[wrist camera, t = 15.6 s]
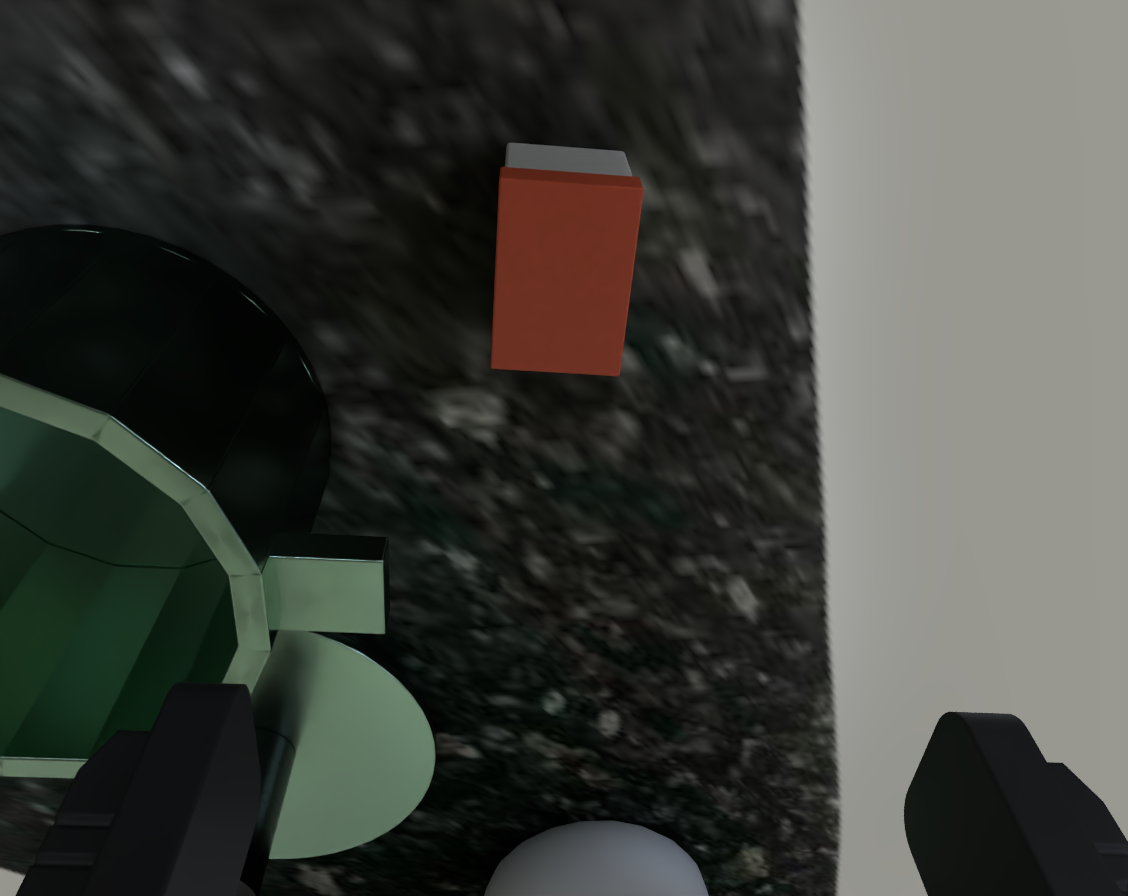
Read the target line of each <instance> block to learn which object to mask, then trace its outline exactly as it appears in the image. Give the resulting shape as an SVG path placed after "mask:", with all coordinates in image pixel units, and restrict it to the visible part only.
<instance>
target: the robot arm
mask: <svg viewBox="0 0 1128 896" xmlns="http://www.w3.org/2000/svg"><path fill="white" fill-rule="evenodd" d="M260 789H261V772H260V764H259V756H258V749H257V742H256V734H255V727H254V720H253V712H252V705H251V698H250V692H249V689H248V687H247V685H245V684H229V683H202V682H176V683H175V684H174V685H173V686H172V687H171V688H170V690H169V692H168V694H167V696H166V698H165V700H164V702H163V705H162V707H161V709H160V711H159V714H158V716H157V718H156V721H155V723H154V725H153V727H152V730H151V731H135V730H118V731H117V732H116V733H115V734H114V735H113V736H112V737H111V738H110V739H109V740H108V741H107V742H106V743H105V744H104V745H103V746H102V747H101V748H100V749H99V750H98V751H97V752H96V753H95V754H94V755H93V756H92V757H91V758H90V759H89V760H88V761H87V762H86V763H84V764H83V765H82V766H81V767H80V768H79V769H78V771H77V773H76V775H75V777H74V779H73V781H72V783H71V785H70V787H69V789H68V791H67V794H66V796H65V798H64V800H63V802H62V804H61V806H60V808H59V810H58V812H57V814H56V816H55V823H54V825H53V826H50V828H49V830H48V832H47V834H46V836H45V838H44V840H43V842H42V844H41V846H40V848H39V850H38V852H37V854H36V860H35V863H34V865H33V866H30V868H29V870H28V872H27V874H26V876H25V878H24V880H23V882H22V884H21V886H20V888H19V890H18V892H17V894H16V896H235V895H236V891H237V888H238V884H239V881H240V877H241V874H242V870H243V867H244V863H245V860H246V856H247V853H248V849H249V846H250V842H251V839H252V835H253V832H254V828H255V824H256V819H257V814H258V808H259V800H260ZM904 823H905V831H906V837H907V841H908V844H909V847H910V850H911V853H912V856H913V858H914V861H915V863H916V866H917V869H918V871H919V874H920V876H921V879H922V881H923V884H924V887H925V889H926V892H927V894H928V896H1128V841H1127V840H1126V838H1125V836H1124V835H1123V833H1122V832H1121V830H1120V828H1119V827H1118V825H1117V823H1116V822H1115V820H1114V818H1113V817H1112V815H1111V814H1110V812H1109V810H1108V809H1107V807H1106V805H1105V804H1104V802H1103V801H1102V800H1101V799H1100V798H1099V797H1098V796H1097V795H1096V794H1094V792H1092V791H1091V790H1090V789H1089V788H1088V787H1087V786H1086V785H1085V784H1084V783H1083V782H1082V781H1081V780H1080V779H1079V778H1078V777H1077V776H1076V775H1075V774H1074V773H1073V772H1071V771H1070V770H1069V769H1068V768H1067V767H1066V766H1065V765H1064V764H1063V763H1049V762H1046V760H1045V758H1044V757H1043V755H1042V753H1041V751H1040V750H1039V748H1038V746H1037V744H1036V743H1035V741H1034V739H1033V738H1032V736H1031V734H1030V732H1029V731H1028V729H1027V727H1026V726H1025V724H1024V723H1023V722H1022V721H1021V720H1020V719H1019V718H1017V717H1016V716H1014V715H1012V714H996V713H968V712H947V713H945V714H944V715H942V717H941V718H940V719H939V721H938V723H937V725H936V727H935V730H934V732H933V734H932V737H931V739H930V741H929V743H928V746H927V748H926V750H925V753H924V755H923V757H922V759H921V762H920V764H919V766H918V768H917V771H916V773H915V775H914V778H913V780H912V782H911V785H910V787H909V789H908V792H907V794H906V799H905V806H904Z"/></svg>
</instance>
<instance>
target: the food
mask: <svg viewBox="0 0 1128 896" xmlns="http://www.w3.org/2000/svg"><path fill="white" fill-rule="evenodd" d="M643 191H644V190H643V186H642V184H641V181H640V178H639V177H634V176H632V174H631V171H630V168H629V165H628V162H627V159H626V156H625V153H624V152H623V151H613V150H600V149H587V148H574V147H561V146H548V145H535V144H522V143H508V144H507V146H506V158H505V167H501V168H500V176H499V194H498V216H497V237H496V259H495V281H494V303H493V325H492V347H491V368H492V369H508V370H524V371H541V372H558V373H575V374H591V375H608V376H619V375H620V369H621V361H622V353H623V345H624V338H625V330H626V322H627V314H628V307H629V299H630V291H631V284H632V276H633V268H634V260H635V253H636V245H637V237H638V230H639V222H640V214H641V206H642V199H643Z"/></svg>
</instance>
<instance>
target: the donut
mask: <svg viewBox="0 0 1128 896" xmlns="http://www.w3.org/2000/svg"><path fill="white" fill-rule="evenodd" d="M484 896H709V895H708V892H707V890H706V887H705V884H704V881H703V879H702V876H701V874H700V871H699V869H698V866H697V864H696V863H695V862H694V861H693V859H692V858H691V857H690V856H689V855H688V854H687V853H686V852H685V851H684V850H683V849H682V848H681V847H679V846H678V845H677V844H676V843H675V842H674V841H673V840H671V839H669V838H667V837H665V836H663V835H660V834H658V833H656V832H654V831H652V830H649V829H647V828H645V827H643V826H639V825H634V824H628V823H623V822H618V821H580V822H576V823H571V824H567V825H562V826H558V827H553V828H550V829H548V830H546V831H544V832H542V833H540V834H538V835H536V836H534V837H531V838H529V839H527V840H525V841H524V842H522V843H521V844H520V845H518V846H517V847H516V848H515V849H514V850H513V851H512V852H511V853H509V854H508V855H507V856H506V857H505V858H504V859H503V860H502V861H501V862H500V863H499V865H498V866H497V868H496V870H495V872H494V874H493V876H492V878H491V880H490V882H489V884H488V886H487V888H486V891H485V895H484Z"/></svg>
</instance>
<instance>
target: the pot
mask: <svg viewBox="0 0 1128 896" xmlns="http://www.w3.org/2000/svg"><path fill="white" fill-rule="evenodd" d="M330 454H331V429H330V421H329V414H328V408H327V405H326V401H325V398H324V394H323V391H322V387H321V385H320V383H319V380H318V378H317V376H316V374H315V371H314V369H313V367H312V365H311V363H310V361H309V359H308V358H307V356H306V354H305V353H304V351H303V349H302V348H301V346H300V345H299V343H298V341H297V340H296V338H295V337H294V336H293V335H292V333H291V332H290V331H289V330H288V328H287V327H286V326H285V324H284V323H283V322H282V321H281V319H280V318H279V317H278V316H277V315H276V314H275V313H274V312H273V311H272V310H271V309H270V308H269V307H268V306H267V305H266V304H265V303H264V302H263V301H262V300H261V299H260V298H259V297H258V296H256V295H255V294H254V293H253V292H251V291H250V290H249V289H248V288H247V287H245V286H244V285H243V284H242V283H240V282H239V281H238V280H237V279H235V278H234V277H232V276H231V275H229V274H228V273H226V272H224V271H223V270H221V269H220V268H218V267H217V266H215V265H213V264H212V263H210V262H209V261H207V260H205V259H203V258H201V257H199V256H197V255H195V254H193V253H191V252H189V251H187V250H185V249H182V248H180V247H178V246H175V245H172V244H170V243H167V242H164V241H162V240H159V239H156V238H153V237H151V236H147V235H143V234H139V233H135V232H131V231H127V230H122V229H117V228H110V227H102V226H94V225H50V226H42V227H34V228H27V229H23V230H20V231H16V232H12V233H9V234H5V235H1V236H0V776H2V775H3V776H4V777H33V778H70V779H74V777H75V775H76V773H77V771H78V769H79V768H80V767H81V766H82V765H83V764H84V763H86V762H87V761H88V760H89V759H90V758H91V757H92V756H93V755H94V754H95V753H96V752H97V751H98V750H99V749H100V748H101V747H102V746H103V745H104V744H105V743H106V742H107V741H108V740H109V739H110V738H111V737H112V736H113V735H114V734H115V733H116V732H117V731H118V730H135V731H151V730H152V727H153V725H154V723H155V721H156V718H157V716H158V714H159V711H160V709H161V707H162V705H163V702H164V700H165V698H166V696H167V694H168V692H169V690H170V688H171V687H172V686H173V685H174V684H175V683H176V682H202V683H229V684H245V685H247V687H248V689H249V692H250V695H251V693H252V691H253V689H254V687H255V685H256V683H257V681H258V678H259V676H260V674H261V672H262V670H263V668H264V666H265V664H266V662H267V659H268V657H269V655H270V653H271V650H272V647H273V644H274V641H275V638H276V635H277V632H278V630H291V631H317V632H342V633H368V634H385V632H386V627H387V621H388V616H389V611H390V586H389V541H388V537H374V536H353V535H331V534H310V532H311V529H312V526H313V523H314V520H315V517H316V514H317V511H318V508H319V505H320V502H321V499H322V496H323V493H324V490H325V487H326V484H327V481H328V478H329V475H330V464H329V460H330Z"/></svg>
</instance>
